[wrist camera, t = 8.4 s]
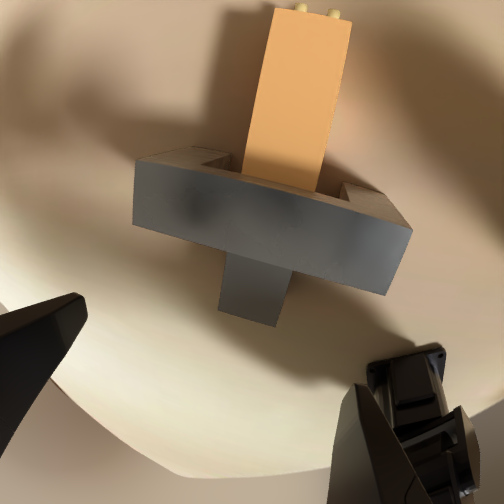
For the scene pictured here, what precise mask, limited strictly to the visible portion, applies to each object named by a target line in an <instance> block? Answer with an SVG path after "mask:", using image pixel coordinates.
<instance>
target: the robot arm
mask: <svg viewBox="0 0 504 504" xmlns="http://www.w3.org/2000/svg"><path fill="white" fill-rule="evenodd" d="M87 318H88V312H87V308H86V302H85V298H84V297H83V296H82V295H80V294H78V293H75V292H73V293H70V294H66V295H63V296H60V297H57V298H53V299H50V300H47V301H44V302H40V303H37V304H34V305H31V306H27V307H24V308H21V309H18V310H15V311H11V312H8V313H5V314H2V315H0V458H1V456H2V454H3V452H4V450H5V449H6V447H7V445H8V443H9V442H10V440H11V438H12V436H13V435H14V432H15V431H16V429H17V428H18V426H19V424H20V423H21V421H22V419H23V418H24V416H25V414H26V413H27V411H28V410H29V408H30V407H31V405H32V404H33V402H34V400H35V399H36V397H37V396H38V394H39V393H40V391H41V390H42V388H43V387H44V385H45V384H46V382H47V381H48V380H49V378H50V377H51V375H52V374H53V372H54V371H55V369H56V368H57V367H58V365H59V364H60V362H61V361H62V360H63V358H64V357H65V355H66V354H67V352H68V351H69V349H70V348H71V346H72V344H73V342H74V341H75V339H76V337H77V336H78V334H79V332H80V331H81V329H82V327H83V326H84V324H85V322H86V321H87ZM445 361H446V351H445V349H444V348H437V349H433V350H429V351H425V352H421V353H417V354H412V355H408V356H403V357H399V358H394V359H389V360H384V361H379V362H373V363H370V364H368V365H367V366H366V373H367V382H368V386H367V385H365V384H359V383H354V384H353V385H352V386H351V388H350V389H349V391H348V392H347V394H346V395H345V397H344V398H343V400H342V403H341V408H340V414H339V420H338V425H337V430H336V435H335V440H334V445H333V453H332V463H331V473H330V482H329V490H328V498H327V504H475V502H474V494H473V492H474V491H477V490H479V488H480V448H479V444H478V440H477V436H476V433H475V429H474V427H473V425H472V423H471V422H470V420H469V418H468V416H467V415H466V413H465V411H464V410H463V408H462V406H461V405H460V406H458V407H456V408H455V409H453V411H452V412H450V413H449V411H448V407H447V402H446V398H445V395H444V391H443V387H442V381H443V375H444V368H445Z"/></svg>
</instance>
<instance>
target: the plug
mask: <svg viewBox="0 0 504 504" xmlns="http://www.w3.org/2000/svg"><path fill="white" fill-rule="evenodd" d="M307 8H308V6H307V5H306V4H303V3H296V4H295V9H294V10H289V9H281V8H275V10H274V15H273V19H272V24H271V28H270V33H269V37H268V42H267V46H266V51H265V55H264V60H263V65H262V70H261V74H260V79H259V84H258V89H257V94H256V99H255V104H254V109H253V114H252V119H251V124H250V129H249V134H248V139H247V144H246V150H245V155H244V160H243V165H242V171H241V174H245V175H250V176H254V177H258V178H262V179H266V180H271V181H275V182H279V183H283V184H286V185H290V186H294V187H298V188H302V189H305V190H309V191H313V192H315V189H316V185H317V181H318V177H319V173H320V169H321V165H322V161H323V157H324V153H325V149H326V145H327V141H328V137H329V132H330V128H331V124H332V120H333V115H334V111H335V106H336V102H337V97H338V93H339V88H340V83H341V78H342V74H343V69H344V64H345V59H346V54H347V48H348V43H349V38H350V32H351V27H352V22H350V21H346V20H342V19H339V18H340V12H339V11H338V10H335V9H329V10H328V14H327V16H324V15H319V14H314V13H308V12H307ZM292 272H293V270H290V269H286V268H283V267H279V266H275V265H272V264H268V263H265V262H261V261H258V260H254V259H251V258H247V257H244V256H240V255H237V254H233V253H230V252H227V256H226V262H225V268H224V275H223V281H222V287H221V293H220V300H219V306H218V310H219V311H222V312H225V313H228V314H232V315H235V316H238V317H241V318H245V319H248V320H251V321H255V322H258V323H262V324H265V325H268V326H272V327H276V324H277V321H278V317H279V314H280V311H281V308H282V305H283V301H284V298H285V295H286V292H287V288H288V285H289V282H290V278H291V275H292Z"/></svg>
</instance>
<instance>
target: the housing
mask: <svg viewBox="0 0 504 504" xmlns="http://www.w3.org/2000/svg"><path fill="white" fill-rule="evenodd" d="M231 156H232V154H231V153H226V152H221V151H215V150H210V149H204V148H199V147H193V146H192V147H187V148H182V149H178V150H173V151H169V152H165V153H160V154H156V155H152V156H148V157H145V158H141V159H137V160H136V163H135V176H134V194H133V225H136V226H139V227H143V228H146V229H149V230H153V231H156V232H160V233H163V234H167V235H170V236H174V237H177V238H181V239H184V240H188V241H191V242H195V243H198V244H202V245H205V246H209V247H212V248H216V249H219V250H223V251H226V252H230V253H233V254H237V255H240V256H244V257H247V258H251V259H254V260H258V261H261V262H265V263H268V264H272V265H275V266H279V267H283V268H286V269H290V270H293V271H297V272H300V273H304V274H308V275H311V276H315V277H318V278H322V279H325V280H329V281H333V282H336V283H340V284H343V285H347V286H351V287H354V288H358V289H362V290H365V291H369V292H372V293H376V294H380V295H383V296H385V295H386V293H387V291H388V289H389V286H390V284H391V282H392V280H393V278H394V275H395V273H396V271H397V269H398V266H399V264H400V262H401V259H402V257H403V254H404V252H405V250H406V247H407V245H408V242H409V240H410V237H411V234H412V232H413V229H412V228H411V227H410V225H409V224H408V223H407V221H406V220H405V219H404V218H403V216H402V215H401V214H400V212H399V211H398V210H397V209H396V207H395V206H394V205H393V204H392V202H391V201H390V200H389V199H388V198H387V196H386V195H385V194H382V193H379V192H376V191H373V190H370V189H366V188H363V187H360V186H357V185H354V184H350V183H347V182H344V181H343V184H342V188H341V191H340V195H339V198H334V197H331V196H327V195H324V194H320V193H316V192H313V191H309V190H305V189H302V188H298V187H294V186H290V185H286V184H283V183H279V182H275V181H271V180H266V179H262V178H258V177H254V176H250V175H245V174H241V173H236V172H232V171H229V167H230V161H231Z"/></svg>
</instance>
